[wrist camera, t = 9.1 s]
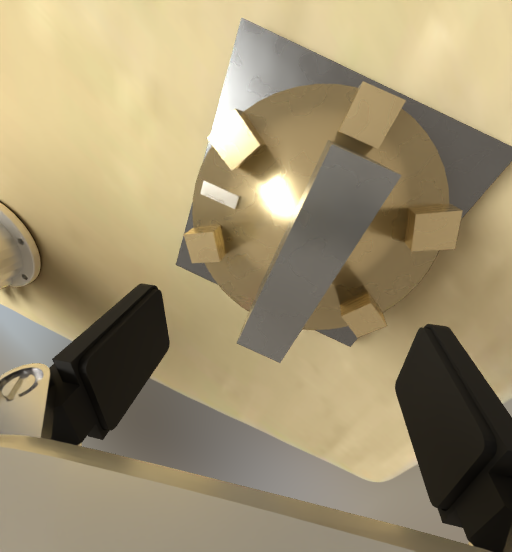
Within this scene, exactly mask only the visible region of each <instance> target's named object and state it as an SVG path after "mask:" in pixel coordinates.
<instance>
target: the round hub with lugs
mask: <svg viewBox="0 0 512 552" xmlns="http://www.w3.org/2000/svg"><path fill="white" fill-rule="evenodd" d="M405 101H406V100H404V99H402V98H400V97H398V96H395V95H393V94H391V93H389V92H386V91H384V90H382V89H380V88H377V87H375V86H373V85H371V84H368V83H366V82H364V81H363V82H362V83H361V84H360V86H359V87H352V86H346V85H341V84H312V85H305V86H298V87H294V88H291V89H287V90H284V91H281V92H277V93H275V94H273V95H271V96H269V97H267V98H265V99H262V100H260V101H258V102H257V103H255V104H254V105H252V106H251V107H249V108H248V109H246V110H245V111H242V110H238V109H234V110H233V111H232V112H231V113H230V114H229V115H228V116H227V117H226V118H225V120H224V121H223V122H222V123H221V124H220V125H219V126H218V127H217V128H216V129H215V130H214V131H213V132H212V133H211V134H210V135H209V136H208V137H207V139H208V140H209V141H210V143H211V144H212V147H211V148H210V150H209V151H208V153H207V155H206V157H205V159H204V162H203V164H202V166H201V168H200V171H199V174H198V178H197V181H196V184H195V190H194V196H193V210H192V216H193V228H192V229H190V230H189V231H188V232H186V233H185V234H184V238H185V241H186V245H187V248H188V251H189V255H190V258H191V262H192V263H205V265H206V267H207V269H208V270H209V272H210V274H211V275H212V277H213V278H214V280H215V281H216V282H217V284H218V285H219V286H220V287H221V289H222V290H223V291H224V292H225V293H226V294H227V295H228V296H229V297H230V298H231V299H233V300H234V301H235V302H236V303H238V304H239V305H240V306H241V307H243V308H244V309H246V310H248V311H249V314H248V316H247V319H246V321H245V324H244V326H243V328H242V331H241V333H240V336H239V338H238V341H237V344H239V345H242V346H244V347H246V348H248V349H250V350H253V351H255V352H257V353H259V354H261V355H264V356H266V357H268V358H270V359H273V360H275V361H277V362H279V363H280V362H281V361H282V359H283V358H284V356H285V355H286V353H287V352H288V350H289V349H290V347H291V345H292V344H293V342H294V341H295V339H296V338H297V336H298V335H299V333H300V332H301V330H302V329H306V330H328V329H335V328H342V327H346V326H349V327H350V329H351V330H352V331H353V333H354V334H355V335H356V337H357V338H358V337H360V336H363V335H366V334H368V333H371V332H373V331H376V330H378V329H381V328H383V327H386V326H387V325H386V322H385V319H384V316H383V312H384V311H386V310H387V309H389V308H391V307H392V306H394V305H395V304H396V303H398V302H399V301H400V300H401V299H403V298H404V297H405V296H406V295H408V294H409V293H410V292H411V291H412V289H413V288H414V287H415V286H416V285H417V284H418V283H419V282H420V281H421V279H422V278H423V277H424V276H425V274H426V273H427V272H428V270H429V268H430V267H431V265H432V263H433V262H434V260H435V258H436V256H437V254H438V252H439V250H448V249H455V247H456V242H457V237H458V232H459V226H460V221H461V216H462V211H463V210H461V209H459V208H457V207H456V206H454V205H452V204H449V188H448V182H447V177H446V173H445V168H444V166H443V163H442V161H441V158H440V156H439V153H438V151H437V149H436V147H435V145H434V144H433V142H432V141H431V139H430V137H429V136H428V134H427V133H426V131H425V130H424V129H423V128H422V127H421V126H420V125H419V124H418V122H417V121H416V120H415V119H414V118H413V117H412V116H411V115H409V114H408V113H407V112H406V111H404V110H403V109H402V107H403V105H404V103H405Z"/></svg>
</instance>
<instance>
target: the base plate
mask: <svg viewBox="0 0 512 552" xmlns="http://www.w3.org/2000/svg"><path fill="white" fill-rule="evenodd" d="M363 81H364V82H366V83H368V84H371V85H373V86H375V87H377V88H380V89H382V90H384V91H386V92H389V93H391V94H393V95H395V96H398V97H400V98H402V99H404V100H406V101H405V103H404V105H403V107H402V109H403V110H404V111H406V112H407V113H408V114H409V115H411V116H412V117H413V118H414V119H415V120H416V121H417V122H418V124H419V125H420V126H421V127H422V128H423V129H424V130H425V131H426V133H427V134H428V136H429V137H430V139H431V141H432V142H433V144H434V145H435V147H436V149H437V151H438V153H439V156H440V158H441V161H442V163H443V166H444V168H445V173H446V177H447V182H448V188H449V204H452V205H454V206H456V207H457V208H459V209H461V210H463V211H462V216H461V219H462V218H463V217H464V215H465V214H466V213H467V212H468V211H469V210H470V208H471V207H472V206H473V205H474V204H475V203H476V202H477V200H478V199H479V198H480V197H481V196H482V195H483V193H484V192H485V191H486V190H487V189H488V188H489V187H490V185H491V184H492V183H493V182H494V181H495V180H496V179H497V177H498V176H499V175H500V174H501V173H502V172H503V170H504V169H505V168H506V167H507V166H508V165H509V164H510V162H511V161H512V146H510V145H507V144H505V143H503V142H501V141H499V140H497V139H495V138H493V137H491V136H489V135H487V134H484V133H482V132H480V131H478V130H476V129H474V128H472V127H470V126H468V125H466V124H463V123H461V122H459V121H457V120H455V119H453V118H451V117H449V116H447V115H445V114H443V113H440V112H438V111H436V110H434V109H432V108H430V107H428V106H426V105H424V104H422V103H419V102H417V101H415V100H413V99H411V98H409V97H407V96H405V95H403V94H401V93H399V92H396V91H394V90H392V89H390V88H388V87H386V86H384V85H382V84H380V83H378V82H375V81H373V80H371V79H369V78H367V77H365V76H363V75H361V74H359V73H357V72H355V71H352V70H350V69H348V68H346V67H344V66H342V65H340V64H338V63H336V62H334V61H332V60H329V59H327V58H325V57H323V56H321V55H319V54H317V53H315V52H313V51H311V50H308V49H306V48H304V47H302V46H300V45H298V44H296V43H294V42H292V41H290V40H288V39H285V38H283V37H281V36H279V35H277V34H275V33H273V32H271V31H269V30H267V29H264V28H262V27H260V26H258V25H256V24H254V23H252V22H250V21H248V20H246V19H244V18H241V21H240V25H239V29H238V33H237V36H236V40H235V44H234V48H233V51H232V55H231V59H230V63H229V67H228V70H227V74H226V78H225V82H224V85H223V89H222V93H221V97H220V100H219V104H218V108H217V112H216V116H215V119H214V123H213V127H212V131H211V133H212V132H213V131H214V130H215V129H216V128H217V127H218V126H219V125H220V124H221V123H222V122H223V121H224V120H225V118H226V117H227V116H228V115H229V114H230V113H231V112H232V111H233V110H234V109H238V110H242V111H245V110H246V109H248V108H249V107H251V106H252V105H254V104H255V103H257V102H258V101H260V100H262V99H265V98H267V97H269V96H271V95H273V94H275V93H277V92H281V91H284V90H287V89H291V88H294V87H298V86H305V85H312V84H341V85H346V86H352V87H359V86H360V84H361V83H362V82H363ZM211 147H212V144H211V143H210V141H209V142H208V146H207V149H206V153H205V157H206V155H207V153H208V151H209V150H210V148H211ZM205 157H204V159H205ZM203 162H204V161H203ZM192 210H193V202H192V206H191V210H190V214H189V217H188V221H187V225H186V229H185V232H184V234H185V233H186V232H188V231H189V230H190V229H192V228H193V216H192ZM176 265H177V266H179V267H182V268H184V269H186V270H188V271H190V272H192V273H194V274H196V275H199V276H201V277H203V278H205V279H207V280H209V281H211V282H213V283H216V284H217V282H216V281H215V280H214V278H213V277H212V275H211V274H210V272H209V270H208V269H207V267H206V265H205V263H192V262H191V258H190V255H189V251H188V248H187V245H186V241H185V238H184V236H183V240H182V244H181V247H180V251H179V255H178V259H177V262H176ZM316 331H318V332H320V333H322V334H324V335H326V336H328V337H330V338H333V339H335V340H337V341H339V342H341V343H343V344H345V345H347V346H350V347H351V345H352V344H353V343H354V342H355V341H356V340H357V337H356V335H355V334H354V333H353V331H352V330H351V329H350V327H349V326H346V327H342V328H335V329H328V330H316Z"/></svg>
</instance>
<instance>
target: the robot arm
mask: <svg viewBox="0 0 512 552" xmlns="http://www.w3.org/2000/svg"><path fill="white" fill-rule="evenodd" d="M40 267H41V264H40V255H39V252H38V248H37V246H36V244H35V241H34V240H33V238H32V236H31V234H30V233H29V231H28V230H27V228H26V227H25V226H24V224H23V223H22V222H21V221H20V220H19V219H18V218H17V216H16V215H15V214H14V213H13V212H11V211H10V210H9V209H8V208H7V207H6V206H4V205H3V204H1V203H0V289H2V288H4V287H6V286H11V287H21V286H24V285H27V284H28V283H30V282H32V281H34V280H35V279H36V278H37V276H38V274H39V272H40ZM168 348H169V336H168V330H167V323H166V317H165V311H164V305H163V299H162V293H161V291H160V290H158V288H157V286H155V285H148V284H139V285H138V286H137V287H135V288H134V289H133V290H132V291H131V292H130V293H129V294H127V295H126V296H125V297H124V298H123V299H122V300H120V301H119V302H118V303H117V304H116V305H115V306H113V307H112V308H111V309H110V310H109V311H108V312H106V313H105V314H104V315H103V316H102V317H101V318H99V319H98V320H97V321H96V322H95V323H94V324H93V325H91V326H90V327H89V328H88V329H87V330H86V331H84V332H83V333H82V334H81V335H80V336H79V337H77V338H76V339H75V340H74V341H73V342H72V343H70V344H69V345H68V346H67V347H66V348H65V349H64V350H62V351H61V352H60V353H59V354H58V355H56V356H55V357H54V358H53V359H52V360H53V362H54V364H53V365H52V366H51V367H50V368H48V367H47V366H46V365H43V364H40V363H37V364H35V363H32V364H28V365H22V366H20V367H17V368H14V369H12V370H10V371H8V372H6V373H4V374H3V375H1V376H0V552H512V417H511V416H510V414H509V413H508V411H507V410H506V408H505V407H504V406H503V404H502V403H501V401H500V400H499V398H498V397H497V395H496V394H495V393H494V391H493V390H492V388H491V387H490V385H489V384H488V383H487V381H486V380H485V378H484V377H483V375H482V374H481V372H480V371H479V370H478V368H477V367H476V365H475V364H474V362H473V361H472V360H471V358H470V357H469V355H468V354H467V352H466V351H465V349H464V348H463V347H462V345H461V344H460V342H459V341H458V339H457V338H456V336H455V335H454V334H453V332H452V331H451V329H450V328H449V327H446V326H439V325H432V324H427V325H426V326H425V327H424V328H420V329H419V330H418V332H417V334H416V336H415V339H414V341H413V343H412V346H411V348H410V350H409V353H408V355H407V357H406V360H405V362H404V364H403V367H402V369H401V371H400V374H399V376H398V378H397V380H396V384H395V390H396V394H397V398H398V401H399V404H400V407H401V410H402V413H403V417H404V420H405V423H406V426H407V429H408V433H409V436H410V439H411V442H412V445H413V448H414V452H415V455H416V458H417V461H418V464H419V467H420V471H421V474H422V477H423V480H424V483H425V486H426V490H427V493H428V496H429V499H430V502H431V503H432V505H433V506H434V507H436V508H438V511H439V513H440V516H441V520H442V523H445V524H449V525H454V526H458V527H462V528H463V529H464V531H465V534H466V536H467V539H468V540H469V543H468V545H467V544H464V543H460V542H456V541H453V540H449V539H446V538H442V537H438V536H435V535H431V534H427V533H424V532H420V531H416V530H413V529H409V528H406V527H402V526H398V525H394V524H390V523H386V522H382V521H378V520H374V519H371V518H367V517H363V516H359V515H355V514H351V513H347V512H343V511H339V510H336V509H331V508H328V507H324V506H320V505H316V504H312V503H308V502H305V501H300V500H297V499H293V498H289V497H284V496H280V495H277V494H272V493H269V492H265V491H261V490H257V489H253V488H249V487H245V486H241V485H237V484H233V483H229V482H225V481H221V480H217V479H213V478H209V477H205V476H201V475H197V474H193V473H189V472H185V471H181V470H177V469H173V468H169V467H164V466H160V465H157V464H152V463H149V462H144V461H140V460H136V459H132V458H128V457H124V456H120V455H116V454H111V453H108V452H103V451H99V450H95V449H91V448H85V447H82V442H83V440H84V438H86V436H87V435H88V436H89V437H93V438H97V439H101V440H103V439H104V437H105V436H106V435H107V433H108V432H109V430H113V429H114V428H115V427H116V426H117V425H118V423H119V422H120V420H121V419H122V417H123V416H124V414H125V413H126V411H127V410H128V408H129V407H130V405H131V404H132V403H133V401H134V400H135V398H136V397H137V395H138V394H139V392H140V391H141V389H142V387H143V386H144V385H145V383H146V382H147V380H148V379H149V377H150V376H151V374H152V373H153V371H154V370H155V369H156V367H157V366H158V364H159V363H160V361H161V360H162V358H163V357H164V355H165V354H166V352H167V351H168Z"/></svg>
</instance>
